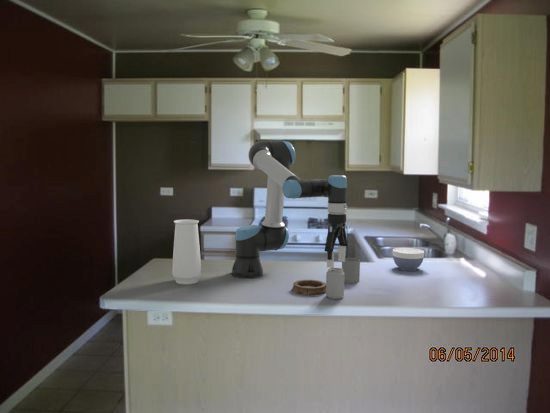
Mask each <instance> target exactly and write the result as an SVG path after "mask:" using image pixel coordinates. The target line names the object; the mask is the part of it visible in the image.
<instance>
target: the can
mask: <svg viewBox="0 0 550 413" xmlns="http://www.w3.org/2000/svg"><path fill="white" fill-rule="evenodd" d="M327 269H328V270H327V271H326V273H325V274H326V275H325V276H326V277H325V283H326V293H325V296H326V297H327V298H328V299H331V300H340V299H342V298H343V297H344V296H345V282H344V272H343V269H342V267H341V268H340V267H334V268H329V267H328V268H327Z"/></svg>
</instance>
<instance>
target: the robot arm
mask: <svg viewBox="0 0 550 413" xmlns="http://www.w3.org/2000/svg"><path fill="white" fill-rule="evenodd" d="M293 146H294V145H293V144H292V143H291V142H289V141H284V140H259V141H257V142H255V143H254V144H252V145H251V147H250V148H249V150H248V160H249V162H250V164H251V165H252V166H253V167H254V168H255V169H256V170H261V171H263V173H265V174H266V175H267V183H266V184H267V185H266V198H265V200H266V201H265V214H264V220H263V221H262V222H261V225H257V224H256V225H255V224H252V225H251V224H249V225H244V226H243V225H242V226H240V227H238V228H237V229H236V230H235V237H234V238H235V260H234V262H233V265H232V269H231V275H232V276H233V277H238V278H244V279H245V278H258V277H261V276H263V275H264V269H263V265H262V263H261V258H260V257H261V256H260V252H269V251H278V250H282V249H285V248H286V247H287V245H288V242H289V239H290V233H289V230H288V227H286V224H285V223H284V221H283V215H284V205H285V203H284V202H285V201H284V200H285V198H286V199H305V198H306V199H307V198H327V213H328V214H327V223H328V224H331V226H327V235H326V241H325V246H324V252H326V268H328V269H329V268H335V267H334V266H335V265H334V264H335V262H334V261H335V251H334V249H335V246H336V242H338V243H339V244H338V258H337V259H338V262H342V261H343V262H345V258H346V247H348V245H349V244H348V238H347V232H346V223H347V214H346V213H347V209H348V205H347V199H348V198H347V196H348V193H347V192H348V181H347V180H348V178H347V176H346V175H342V174H341V175H339V174H338V175H337V174H333V175H329V176H328V179H326V178H324V179H323V178H314V179H313V178H312V179H301V178H300V177H298V176H297V175H296V174H294V173H293V172H291V170H290V167H291V166H292V165H294V163H295V161H296V151H295V148H294V147H293ZM260 226H261V227H260ZM337 240H338V241H337Z"/></svg>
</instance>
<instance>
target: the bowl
mask: <svg viewBox="0 0 550 413" xmlns="http://www.w3.org/2000/svg"><path fill="white" fill-rule="evenodd" d="M424 258H425V250H423V249H420V248H417V247H416V248H414V247H395V248H393V249H392V259H393V262H394V264H395V265H396V266H397V267H398V269H399V270H401V271H406V272H410V271H411V272H413V271H417V269H418V268H419V267H421V265H422V263H423V261H424Z"/></svg>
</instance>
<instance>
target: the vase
mask: <svg viewBox="0 0 550 413" xmlns="http://www.w3.org/2000/svg"><path fill="white" fill-rule="evenodd" d="M199 222H200V220H197V219H190V218H187V219H186V218H185V219H175V220H173V223H174V227H175V228H174V237H173V238H174V239H173V253H172V277H174V279H175V283H176V284H178V285H193V284H194V285H195V284H196V283H198V282H199V278H200V277H201V275H202V262H201V261H202V260H201V250H200V248H201V247H200V236H199V235H200V234H199V226H198V224H199Z"/></svg>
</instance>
